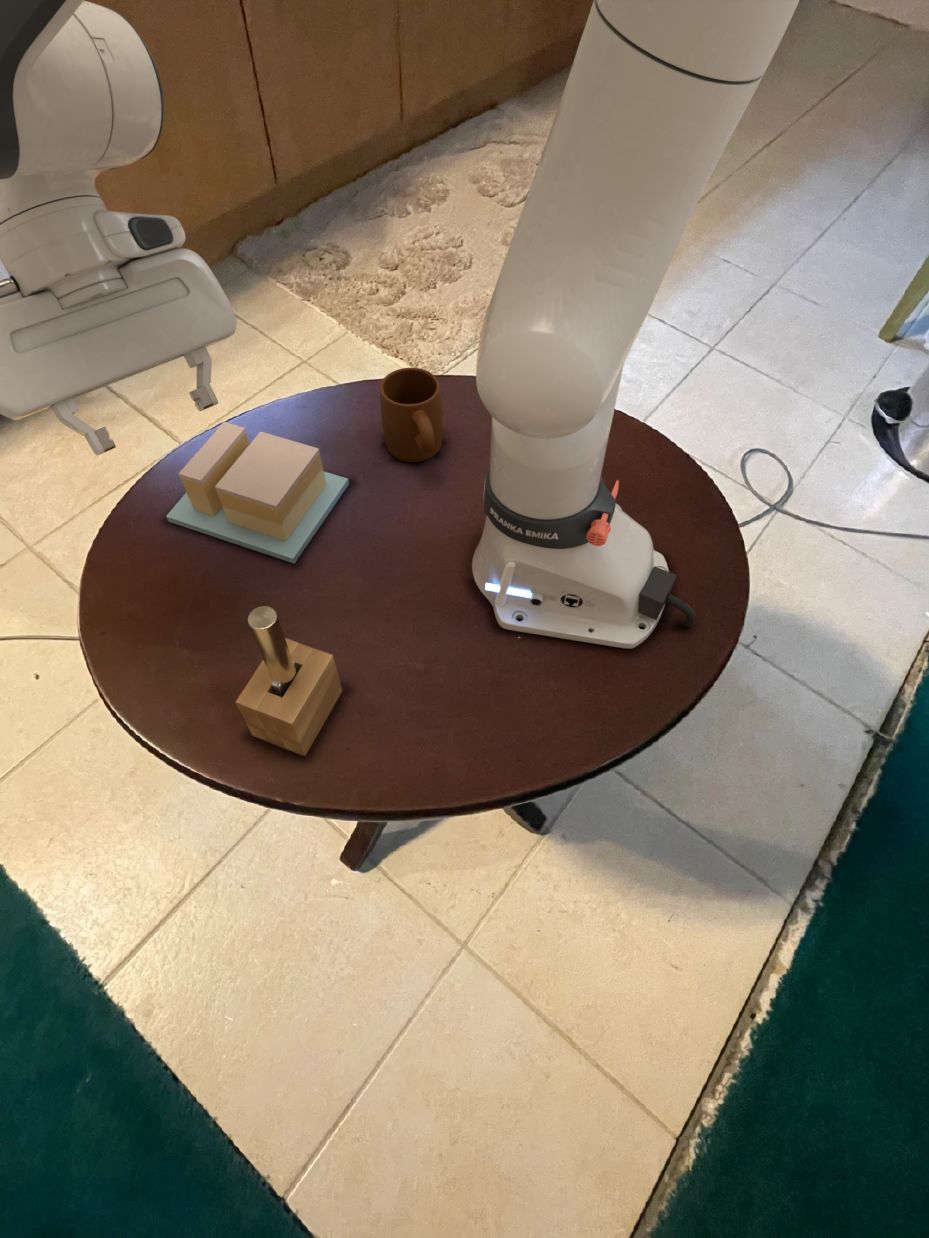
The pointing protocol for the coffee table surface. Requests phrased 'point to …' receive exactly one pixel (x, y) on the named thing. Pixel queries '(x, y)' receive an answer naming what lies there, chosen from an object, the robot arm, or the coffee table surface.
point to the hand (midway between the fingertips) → (159, 429)
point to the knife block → (292, 700)
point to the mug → (411, 414)
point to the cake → (269, 499)
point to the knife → (273, 648)
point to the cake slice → (213, 466)
